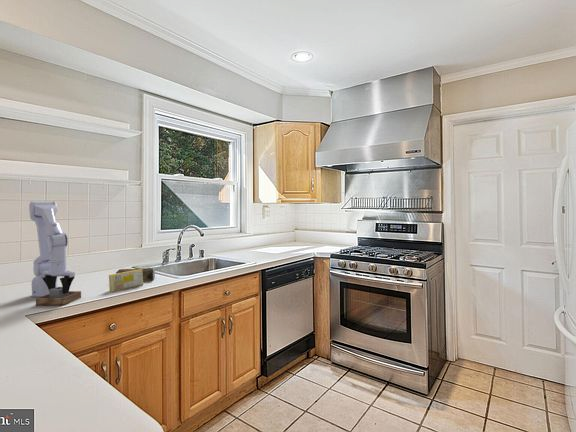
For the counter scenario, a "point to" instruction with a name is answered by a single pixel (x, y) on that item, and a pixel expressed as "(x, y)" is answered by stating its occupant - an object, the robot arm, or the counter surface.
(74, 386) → the counter surface
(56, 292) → the slate crate
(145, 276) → the beverage carton
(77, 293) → the walnut crate
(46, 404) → the counter surface
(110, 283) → the candy box
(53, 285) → the robot arm
